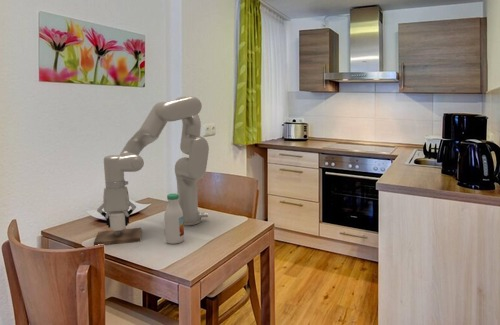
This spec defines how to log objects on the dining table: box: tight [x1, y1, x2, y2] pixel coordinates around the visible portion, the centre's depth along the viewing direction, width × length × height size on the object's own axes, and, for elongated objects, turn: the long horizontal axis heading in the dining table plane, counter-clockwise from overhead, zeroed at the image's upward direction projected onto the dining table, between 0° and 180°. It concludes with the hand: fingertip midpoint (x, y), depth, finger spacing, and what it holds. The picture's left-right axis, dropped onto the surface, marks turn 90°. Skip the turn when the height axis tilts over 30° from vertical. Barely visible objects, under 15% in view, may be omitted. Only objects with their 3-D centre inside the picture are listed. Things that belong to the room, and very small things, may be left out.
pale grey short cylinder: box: [109, 211, 127, 231], centre depth 149 cm, size 6×6×7 cm
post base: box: [93, 227, 142, 246], centre depth 150 cm, size 18×13×6 cm
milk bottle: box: [163, 193, 185, 245], centre depth 146 cm, size 8×8×20 cm
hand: (118, 225), depth 150 cm, fingers closed on pale grey short cylinder, 6 cm apart
